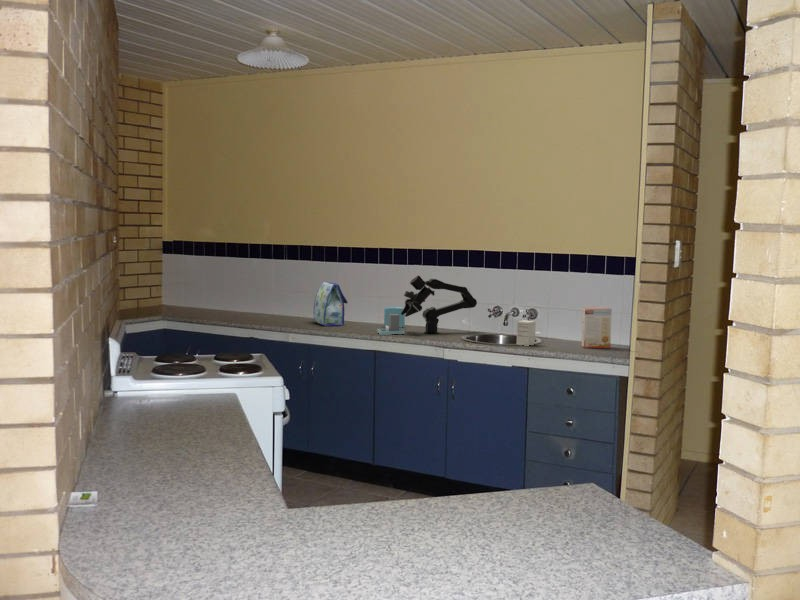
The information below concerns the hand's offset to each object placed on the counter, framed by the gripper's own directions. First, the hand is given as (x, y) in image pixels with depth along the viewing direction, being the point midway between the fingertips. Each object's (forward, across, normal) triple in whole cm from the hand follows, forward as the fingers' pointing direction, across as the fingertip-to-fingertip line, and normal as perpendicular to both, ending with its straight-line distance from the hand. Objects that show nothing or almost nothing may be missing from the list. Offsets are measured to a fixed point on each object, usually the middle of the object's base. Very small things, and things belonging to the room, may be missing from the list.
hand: (403, 315), depth 453 cm
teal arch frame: (+6, -30, +9) cm, 32 cm away
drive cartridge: (+11, 0, +3) cm, 11 cm away
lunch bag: (+32, -49, -18) cm, 61 cm away
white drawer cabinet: (-30, +50, +46) cm, 75 cm away
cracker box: (-53, +64, +70) cm, 109 cm away
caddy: (+12, 0, +2) cm, 13 cm away
